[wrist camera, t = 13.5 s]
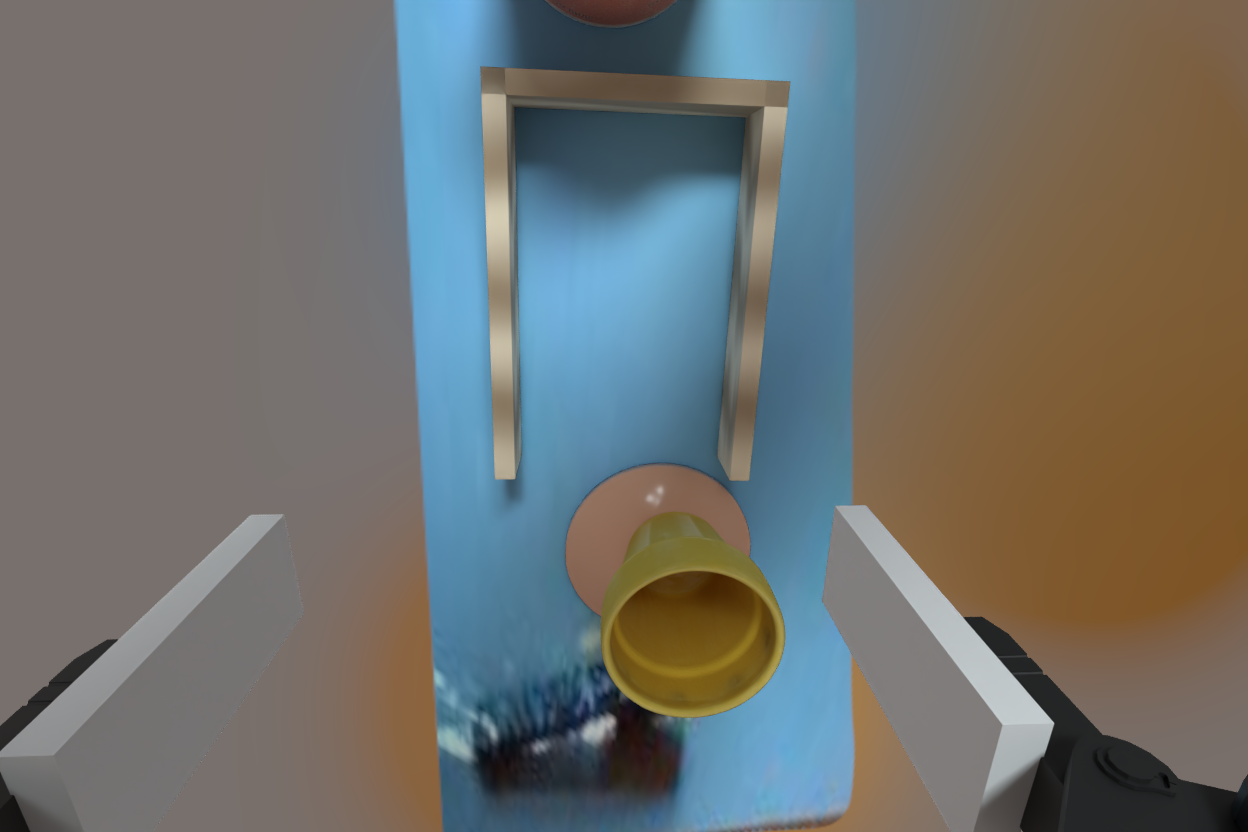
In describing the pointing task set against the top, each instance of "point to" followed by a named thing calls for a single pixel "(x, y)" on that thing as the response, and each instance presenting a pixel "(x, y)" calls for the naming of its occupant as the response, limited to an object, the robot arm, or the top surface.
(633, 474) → the disc
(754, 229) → the slot cradle
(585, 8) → the canned food
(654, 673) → the plant pot
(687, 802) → the top surface
